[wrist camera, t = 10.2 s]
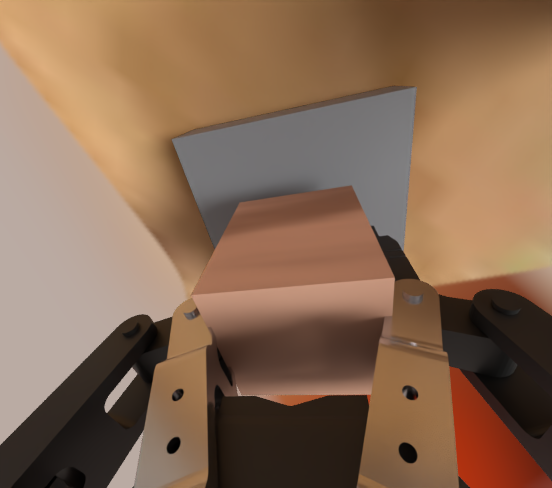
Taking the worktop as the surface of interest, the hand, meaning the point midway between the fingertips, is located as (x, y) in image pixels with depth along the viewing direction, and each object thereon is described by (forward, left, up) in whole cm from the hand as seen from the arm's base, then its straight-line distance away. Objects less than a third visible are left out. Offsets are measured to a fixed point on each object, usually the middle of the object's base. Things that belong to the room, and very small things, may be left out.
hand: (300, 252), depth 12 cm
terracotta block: (0, 0, -1) cm, 1 cm away
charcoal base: (0, 0, -6) cm, 6 cm away
